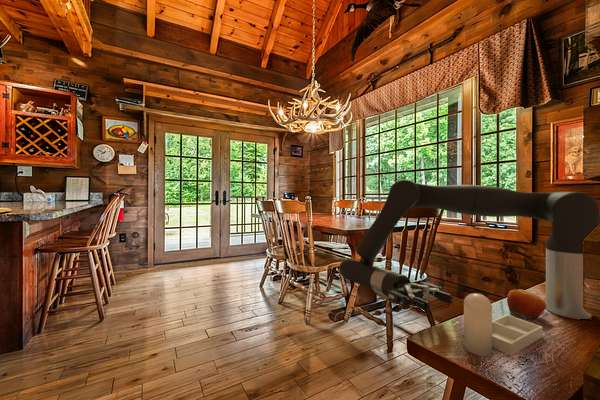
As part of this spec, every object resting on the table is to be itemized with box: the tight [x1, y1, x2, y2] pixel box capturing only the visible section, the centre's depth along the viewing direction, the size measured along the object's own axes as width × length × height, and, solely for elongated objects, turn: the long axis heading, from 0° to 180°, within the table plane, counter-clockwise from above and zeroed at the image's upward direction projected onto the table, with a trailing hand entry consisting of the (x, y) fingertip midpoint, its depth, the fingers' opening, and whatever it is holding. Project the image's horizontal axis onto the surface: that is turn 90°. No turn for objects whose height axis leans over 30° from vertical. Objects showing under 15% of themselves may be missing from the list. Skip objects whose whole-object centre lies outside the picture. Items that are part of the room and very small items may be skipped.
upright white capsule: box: [463, 292, 493, 357], centre depth 57 cm, size 5×5×12 cm
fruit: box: [506, 288, 546, 321], centre depth 72 cm, size 8×8×8 cm
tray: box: [492, 314, 544, 356], centre depth 61 cm, size 14×7×2 cm, turn 118°
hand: (440, 303), depth 65 cm, fingers open, 8 cm apart
